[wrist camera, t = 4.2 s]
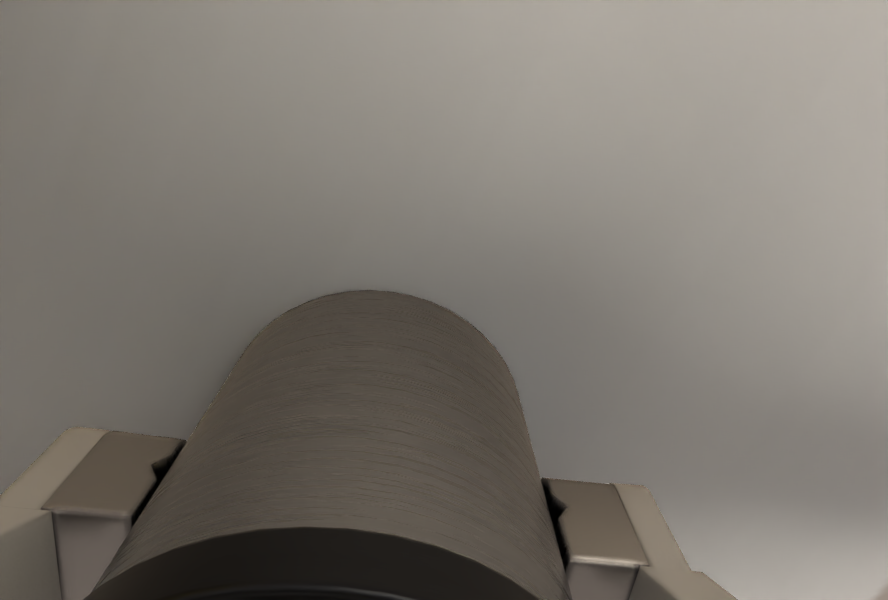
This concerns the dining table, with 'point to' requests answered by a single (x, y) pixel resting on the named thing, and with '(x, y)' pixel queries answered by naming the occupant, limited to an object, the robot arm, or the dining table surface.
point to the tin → (352, 471)
